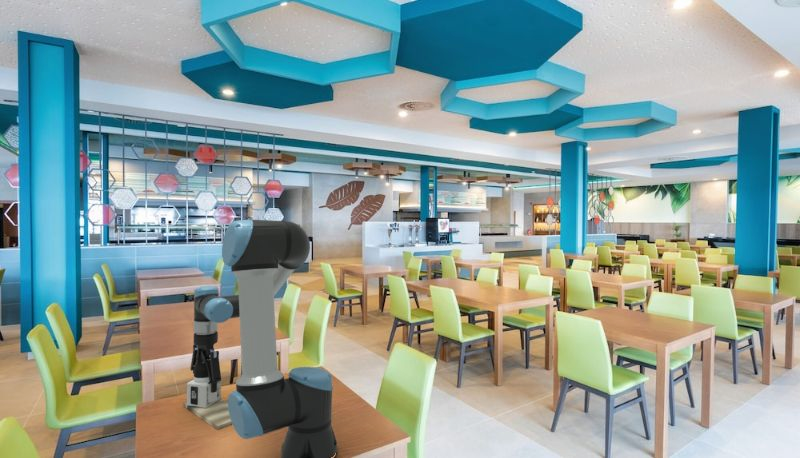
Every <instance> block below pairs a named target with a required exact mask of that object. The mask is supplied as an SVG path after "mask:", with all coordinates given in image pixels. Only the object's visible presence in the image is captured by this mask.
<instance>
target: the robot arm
mask: <svg viewBox="0 0 800 458" xmlns="http://www.w3.org/2000/svg"><path fill="white" fill-rule="evenodd" d="M310 250H311V243H310V238H309V236H308V234H307V232H306V231H305V230H304V228H302V227H301V225H299V224H297V223H296V222H294V221H293V222H292V221H290V220H270V219H269V220H268V219H267V220H266V219H242V220H241V219H239V220H233V221H232V222H231V223H230V224H229V225H228V227H227V228H226V231H225V233H224V235H223V239H222V245H221V258H222V261H223V264H224V265H225V266H228V267H230V269H231V270H230V272H231V274H232V275H233V276H234V277H236V279H237V284H238V294H233V295H223V296H222V295H221V296H219V295H220V293H219V288H218V286H216V285H215V286H214V285H202V286H198V287H197V286H196V288H194V294H193V332H194V333H193V345H192V355H191V356H192V357H191V363H190V371H191V372H192V374H193V375H194V367H195V366H196V365H198V364H200V363H205V364H206V368H207V372H208V376H209V381H210V382H208V402H209V403H210V402H213V401H216V400H217V382H218V381H221V382H222V376H221V375H222V374H221V366H220V358H219V357H220V351H219V350H215V347H214V345H215V344H217V343H218V341H219V332H218V329H219V324H222V323H225V322H227V321H228V320H229V319H237V318H239V331H240V351H241V353H240V354H241V357H240V358H241V376H240V377H238V379H237V380H236V381H235V388H236V389H235V390H233V391H232V392H230V393H229V395H228V399H227V403H228V409H229V414H230V418H231V421H232V426H233V429H234V431H235V432H236V434H237V435H238V436H239V437H240V438H242V439H245V440H249V439H253V438H257V437H263V436H264V435H266V434H269V433H273V432H275V431H278V430H281V429H285V428H287V430H286V433H285V437H284V441H283V443H282V445H281V447H280V448H281V449H280V458H331V457H333V456H334V455H335V453H336V452H337V453H338V441H337V439H336V435H335V432H334V429H333V426H332V417H333V416H332V415H333V414H332V406H333V390H334V387H333V378H332V374H331V373H330V372H328V371H327V370H325V369H323V368H319V367H314V366H299V367H294V368H291V369H290V371H289V373H288V378H285V374H284V373H283V372H282V371H280V369H279V368H278V351H277V335H276V333H277V332H276V315H275V298H274V297H275V296H276V295H277V293H278V292H279V291H280V289H281V288H282V287H283V285H284V284H285V283H286V282H287V280H288V279H289V277H290V276H291V275H292V274H293V272H294V271H295V270H299V269H300V268H301V267H302V266H303V265H304V263H305V262H306V261H307V259H308V258H309V255H310Z"/></svg>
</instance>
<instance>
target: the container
mask: <svg viewBox="0 0 800 458" xmlns="http://www.w3.org/2000/svg"><path fill="white" fill-rule="evenodd" d="M208 382H210V381H209V376H208V372H207V368H206V364H205V363H200V364H198V365H196V366H195V367H194V374H193V379H191V380H190V381H188V382H187V383H186V401H187V405H189V406H196V407H203V408H207V407H208V406H210V405H212V404H213V403H215V402H216V401H218V400H219V399H222V380H221V381H218V382H217V400H216V401H213V402H210V403H209V402H208Z"/></svg>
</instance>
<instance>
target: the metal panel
mask: <svg viewBox="0 0 800 458" xmlns="http://www.w3.org/2000/svg"><path fill="white" fill-rule="evenodd" d="M182 403H183V407H184V408H186V409H187V410H188V411H190V412H191V413H193V414H194V415H196V416H197V417H198V418H199V419H201V420H203V421H204V422H206V423H207V424H209V425H210V426H211V427H212V428H214V429H216V430H217V431H218V430H221V429H223V428H226V427H229V426H231V425H232V426H233V424H232V421H231V418H230V414H229V409H228V401H226V400H224V399H222V398H221V399H219V400H218V401H216V402H215V403H213V404H212V405H210V406H208V407H207V408H203V407H196V406H189V405H187V400H186V401H184V402H183V401H182Z"/></svg>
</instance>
